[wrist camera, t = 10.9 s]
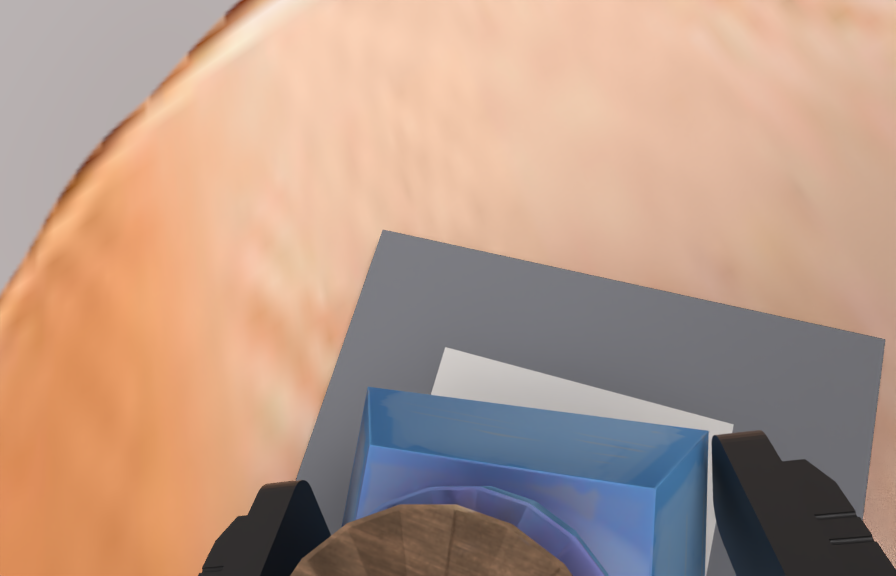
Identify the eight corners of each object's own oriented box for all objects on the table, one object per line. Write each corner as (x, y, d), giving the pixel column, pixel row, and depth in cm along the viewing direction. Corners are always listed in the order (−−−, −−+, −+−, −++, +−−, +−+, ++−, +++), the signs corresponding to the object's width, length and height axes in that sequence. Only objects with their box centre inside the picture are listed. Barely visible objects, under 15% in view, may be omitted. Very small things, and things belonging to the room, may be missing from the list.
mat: (870, 345, 20) (888, 338, 19) (788, 978, 16) (803, 1015, 15) (389, 238, 25) (381, 227, 24) (230, 704, 21) (210, 716, 20)
